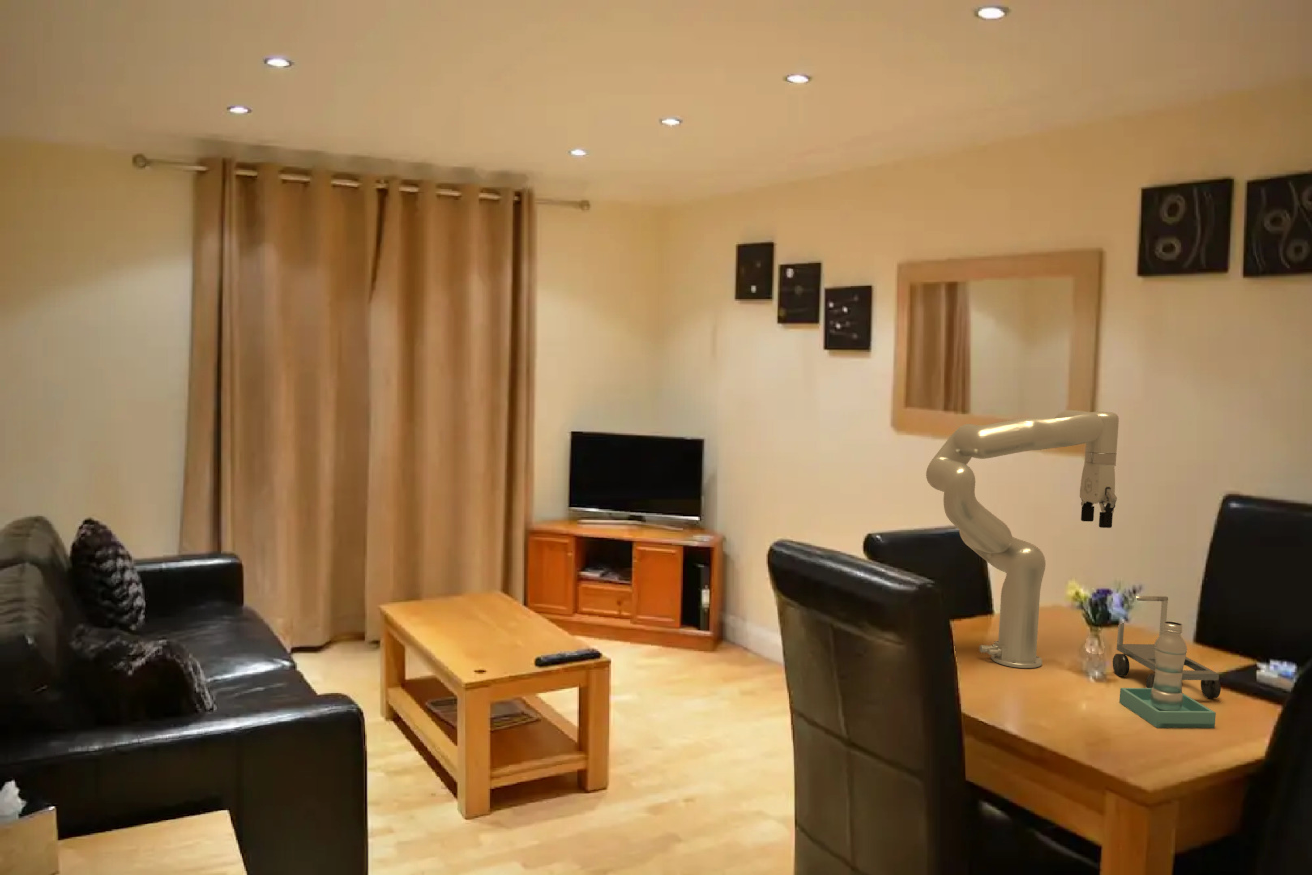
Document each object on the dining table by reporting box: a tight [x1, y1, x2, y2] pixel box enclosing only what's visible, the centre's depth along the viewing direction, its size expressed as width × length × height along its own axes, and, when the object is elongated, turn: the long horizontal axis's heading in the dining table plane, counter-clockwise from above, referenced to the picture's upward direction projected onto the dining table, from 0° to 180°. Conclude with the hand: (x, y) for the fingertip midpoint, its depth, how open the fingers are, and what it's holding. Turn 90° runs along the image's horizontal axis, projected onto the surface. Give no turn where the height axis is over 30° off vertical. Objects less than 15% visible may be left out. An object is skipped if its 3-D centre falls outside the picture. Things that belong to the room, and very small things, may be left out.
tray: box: [1118, 687, 1217, 729], centre depth 231 cm, size 13×16×4 cm
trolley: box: [1112, 595, 1222, 699], centre depth 251 cm, size 15×24×20 cm, turn 4°
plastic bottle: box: [1150, 620, 1188, 711], centre depth 230 cm, size 6×7×20 cm
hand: (1096, 524), depth 269 cm, fingers open, 9 cm apart
